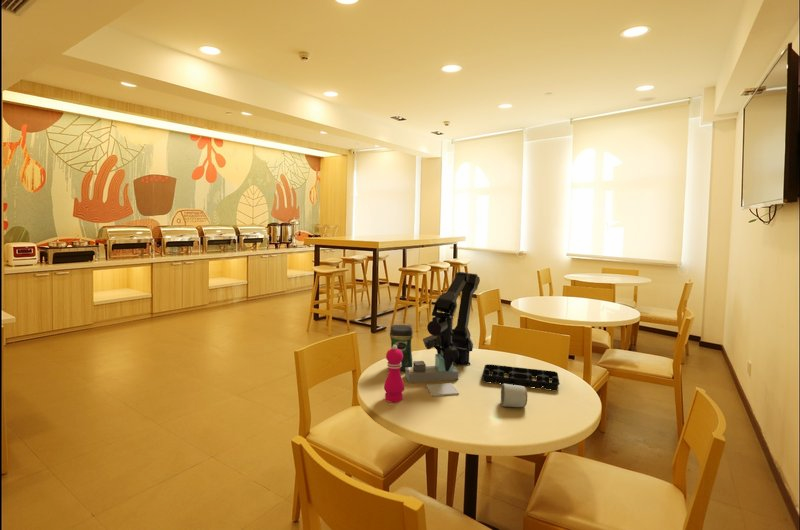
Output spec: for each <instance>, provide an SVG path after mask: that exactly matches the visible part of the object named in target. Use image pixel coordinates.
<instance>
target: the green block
mask: <svg viewBox="0 0 800 530" xmlns="http://www.w3.org/2000/svg"><path fill="white" fill-rule="evenodd" d="M434 356H435V357H434V358H435V359H434V360H435V361H434V363H435V364H434V366H435V367H436V368H437V370H438V371H439V372H443V371H446V370H445V363H444V359H443V358H442V356H441V354H437V353H435V355H434ZM453 365H454V363H453V364H452V365H451V367H450V369H449V371H453Z"/></svg>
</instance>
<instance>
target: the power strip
mask: <svg viewBox="0 0 800 530" xmlns="http://www.w3.org/2000/svg"><path fill="white" fill-rule="evenodd" d="M412 363H413V366H412V367H406V368H405V371H404V376H405V379H406V378H407V379H406V380H408V381H407V383H408V382H409V383H408V384H411V383H410V382H415V383H428V382H427V381H431V382H439V381H438V380H446V381H455V380H454V379H458V380H459V370H458V369H457V367H456V365H455V364H453V371H443V372H439V371H438V370H437V368H436V367H435V365H429V366H428V365H427V364H426V362H425V361H424V360H415V361H413V360H412ZM454 365H455V366H454Z"/></svg>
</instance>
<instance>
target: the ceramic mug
mask: <svg viewBox="0 0 800 530" xmlns="http://www.w3.org/2000/svg"><path fill="white" fill-rule="evenodd" d="M500 403H501V407H505V408H525V407H526V406H527V403H528V390H527V388H526V387H524V386H520V385H513V384H512V383H511V384H501V389H500Z"/></svg>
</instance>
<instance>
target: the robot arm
mask: <svg viewBox="0 0 800 530" xmlns="http://www.w3.org/2000/svg"><path fill="white" fill-rule="evenodd" d="M480 279H481V278H480V276H479V275H478V274H477V273H470V272H465V271H464V272H463V271H458V272H456V273H455V277H454V279H453V280H452V282H451V284H450V285H449V287H448V289H447V290H446V292H444V293H441V294H440V295H439V297H437V299H436V300H435V303H434V306H433V309H432V313H431V316H432V319H431V321H429V322H428V324H427V328H426V329H427V332H428V333H429V336H427V337H424V338H423V339H422V342H423V345H424V346H425V348H426V350H431V349H433V348H434V349H435V350H436V354H441V356H442V358H443V359H444V363H445V370H446V371H449V369H450V367H451V365H452V364H453V365H455V366H465V365H466V366H467V365H468V366H469V365H471V362H470V352H473V350H474V349H473V348H474V343H473V342H472V341H473V340H472V339H471V332H470V330H469V327H468V326H469V321H470V314H471V309H472V308H471V307H472V301H473V295H474V294H475V292H476V291H477V290H478V287H479V284H480ZM460 294H461V296H460ZM459 296H460V302H459V309H458V314H457V323H456V326H455V327H454V328H453V325H454V324H453V321H454V320H453V317H454V316H455V313H456V310H457V306H458V304H457V300H458V297H459Z"/></svg>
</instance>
